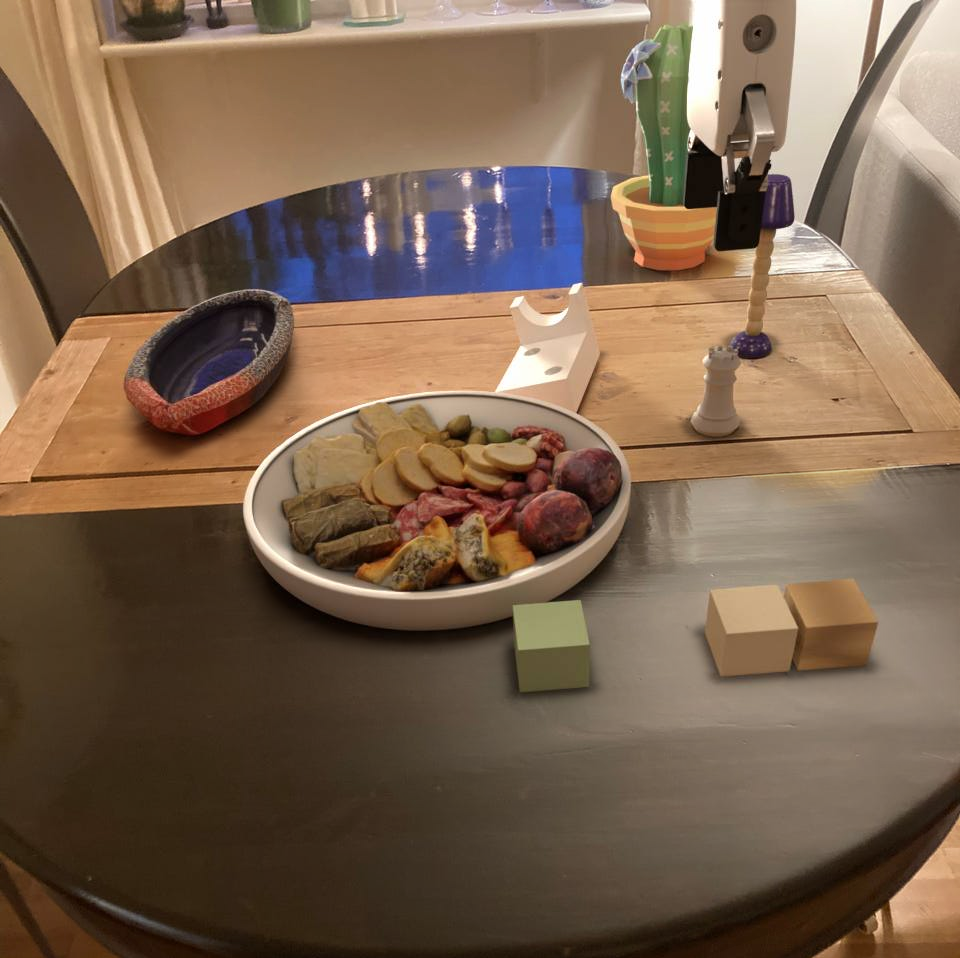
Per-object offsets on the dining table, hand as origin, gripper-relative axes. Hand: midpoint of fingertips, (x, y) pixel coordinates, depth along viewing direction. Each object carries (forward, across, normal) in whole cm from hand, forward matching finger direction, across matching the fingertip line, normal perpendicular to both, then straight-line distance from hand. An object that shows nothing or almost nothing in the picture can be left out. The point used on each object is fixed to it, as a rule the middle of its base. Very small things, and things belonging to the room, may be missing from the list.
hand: (718, 226), depth 73 cm
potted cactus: (+19, +47, -8) cm, 51 cm away
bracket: (+19, +14, +12) cm, 27 cm away
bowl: (+19, -10, +23) cm, 32 cm away
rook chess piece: (+19, +2, -2) cm, 19 cm away
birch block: (+19, -28, -2) cm, 34 cm away
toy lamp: (+19, +19, -10) cm, 29 cm away
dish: (+19, +22, +46) cm, 54 cm away
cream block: (+19, -28, +3) cm, 34 cm away
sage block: (+19, -28, +16) cm, 37 cm away
